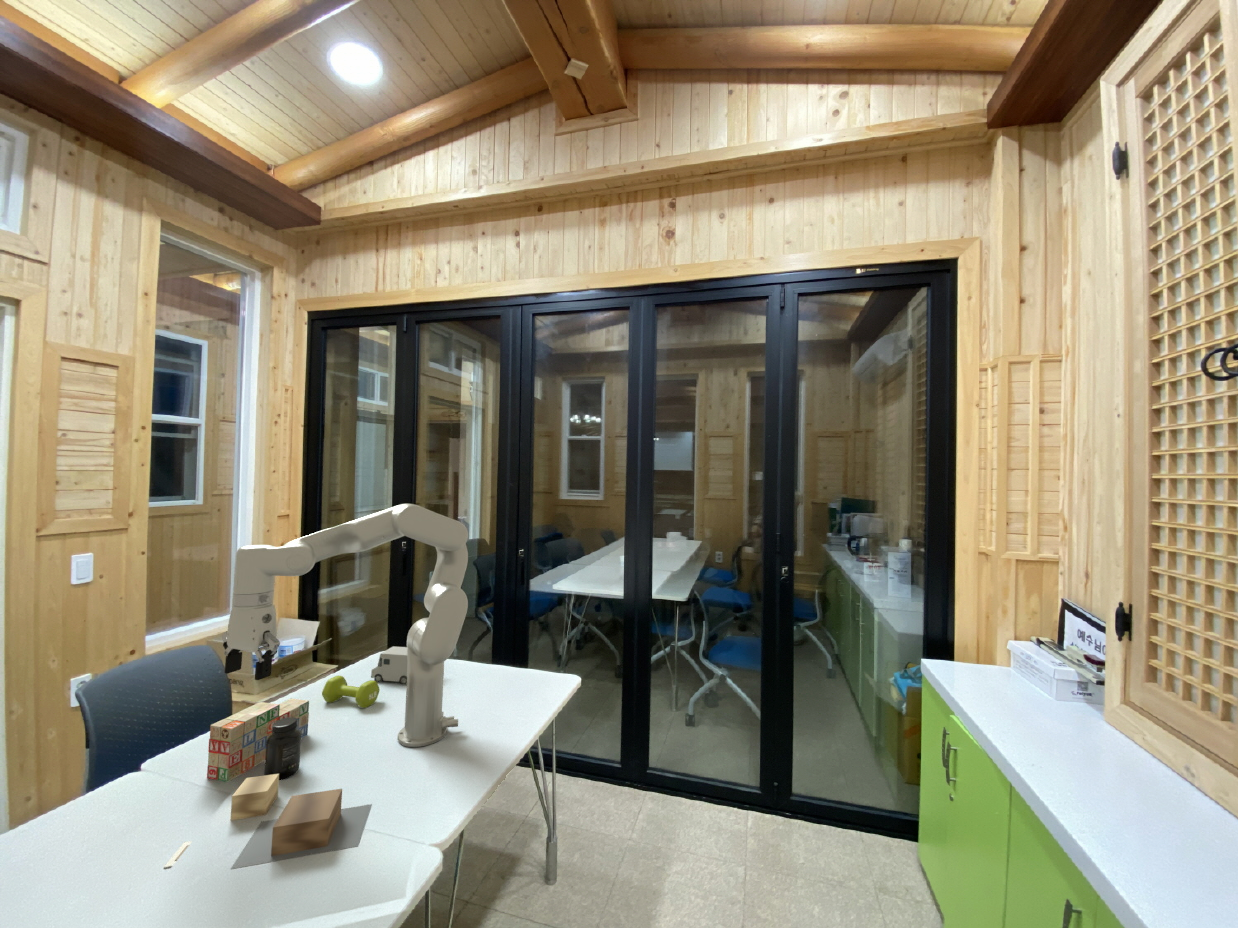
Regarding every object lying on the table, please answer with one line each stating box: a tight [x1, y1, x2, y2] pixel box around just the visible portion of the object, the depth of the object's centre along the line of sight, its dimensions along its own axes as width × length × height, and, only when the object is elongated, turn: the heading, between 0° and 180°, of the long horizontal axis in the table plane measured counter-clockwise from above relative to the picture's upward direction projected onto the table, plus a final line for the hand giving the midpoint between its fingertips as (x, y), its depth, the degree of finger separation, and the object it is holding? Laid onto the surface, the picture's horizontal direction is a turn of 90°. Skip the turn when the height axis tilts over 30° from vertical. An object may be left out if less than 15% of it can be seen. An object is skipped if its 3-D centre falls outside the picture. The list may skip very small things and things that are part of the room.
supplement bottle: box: [263, 717, 302, 782], centre depth 110 cm, size 7×7×12 cm
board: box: [230, 803, 373, 870], centre depth 89 cm, size 20×12×1 cm, turn 107°
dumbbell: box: [321, 675, 381, 709], centre depth 146 cm, size 16×8×7 cm, turn 76°
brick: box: [271, 788, 343, 856], centre depth 90 cm, size 9×9×5 cm
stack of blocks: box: [206, 698, 310, 783], centre depth 117 cm, size 21×6×12 cm, turn 168°
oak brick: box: [230, 774, 280, 821], centre depth 96 cm, size 6×6×6 cm
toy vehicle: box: [370, 645, 408, 685], centre depth 165 cm, size 9×18×10 cm, turn 84°
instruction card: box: [163, 840, 193, 869], centre depth 86 cm, size 8×6×1 cm
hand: (247, 674), depth 106 cm, fingers open, 9 cm apart
